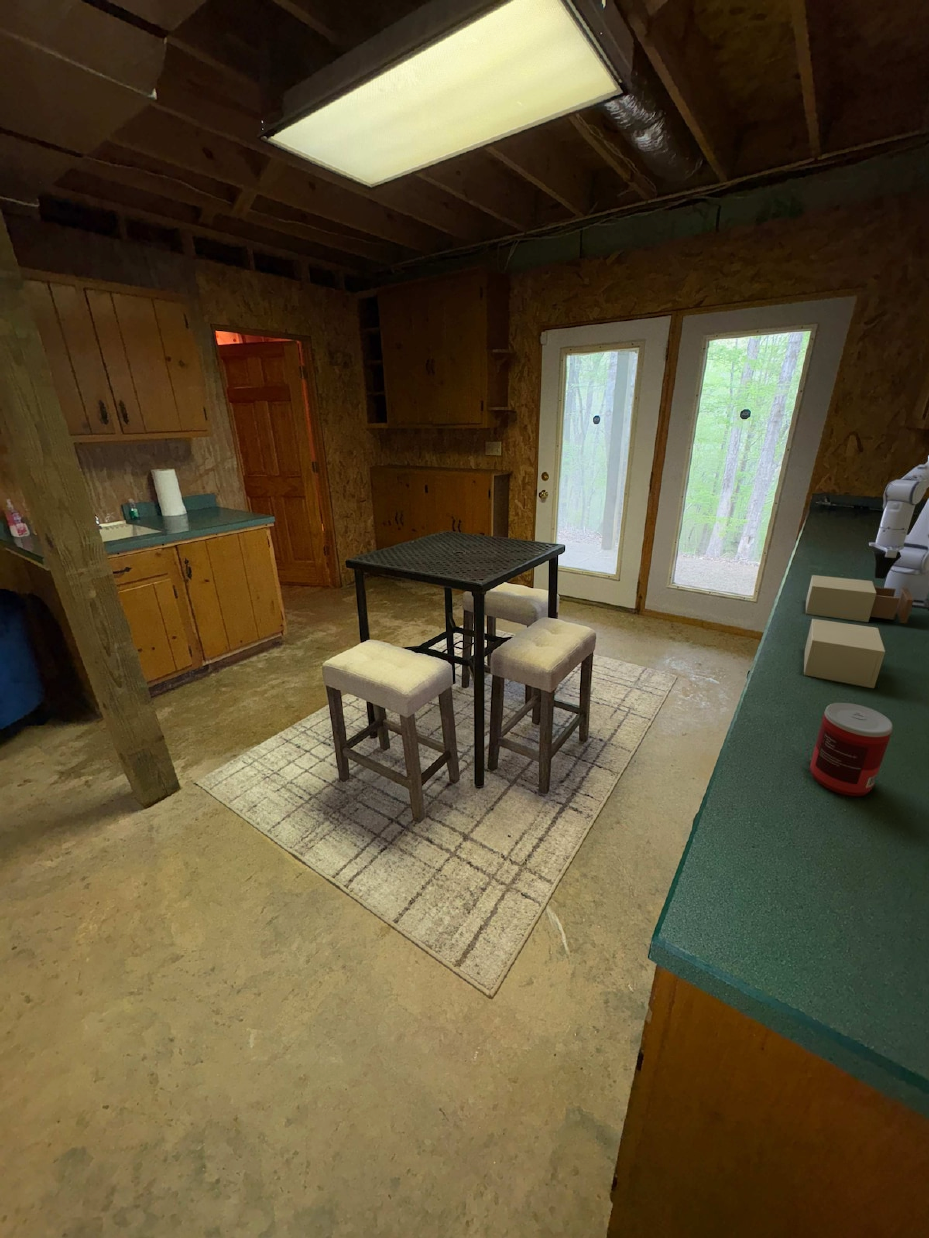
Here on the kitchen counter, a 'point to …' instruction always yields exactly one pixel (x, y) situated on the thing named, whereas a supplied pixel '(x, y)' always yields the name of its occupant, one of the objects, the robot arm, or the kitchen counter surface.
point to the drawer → (894, 604)
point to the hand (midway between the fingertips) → (879, 577)
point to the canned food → (850, 748)
